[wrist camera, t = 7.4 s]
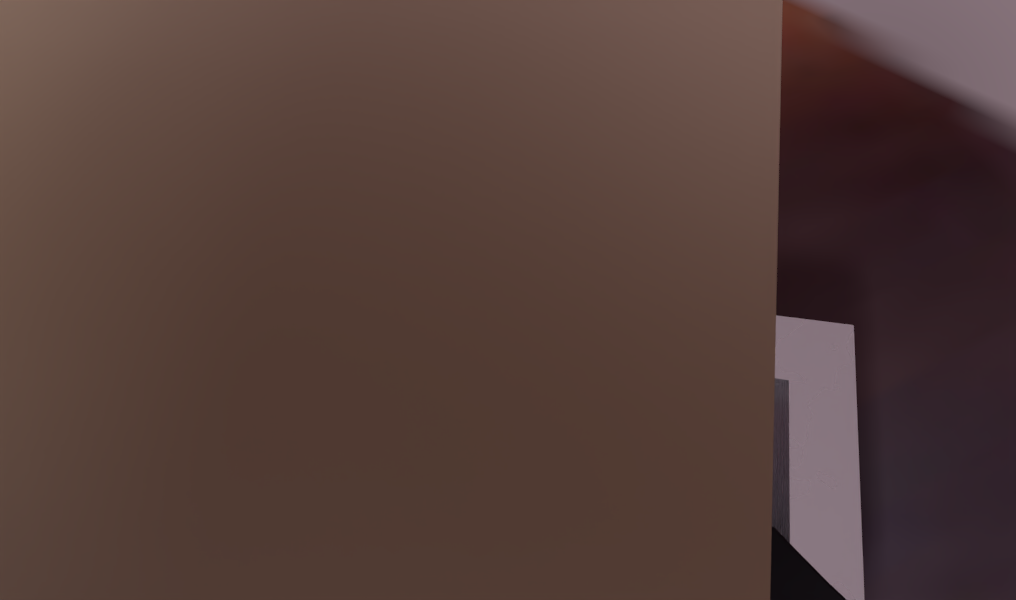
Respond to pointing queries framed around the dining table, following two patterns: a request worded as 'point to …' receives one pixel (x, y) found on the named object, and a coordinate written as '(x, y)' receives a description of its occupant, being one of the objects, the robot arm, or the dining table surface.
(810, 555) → the socket
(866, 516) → the dining table surface
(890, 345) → the dining table surface
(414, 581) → the wooden peg
